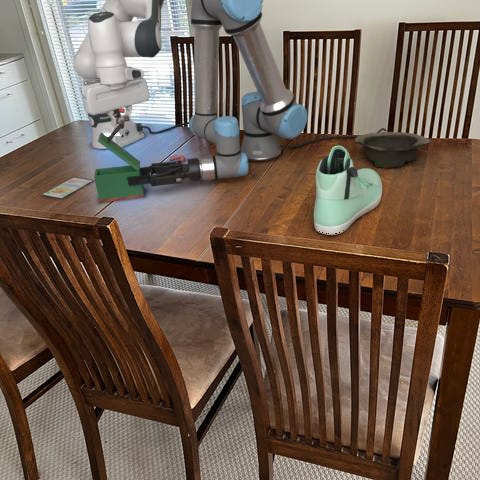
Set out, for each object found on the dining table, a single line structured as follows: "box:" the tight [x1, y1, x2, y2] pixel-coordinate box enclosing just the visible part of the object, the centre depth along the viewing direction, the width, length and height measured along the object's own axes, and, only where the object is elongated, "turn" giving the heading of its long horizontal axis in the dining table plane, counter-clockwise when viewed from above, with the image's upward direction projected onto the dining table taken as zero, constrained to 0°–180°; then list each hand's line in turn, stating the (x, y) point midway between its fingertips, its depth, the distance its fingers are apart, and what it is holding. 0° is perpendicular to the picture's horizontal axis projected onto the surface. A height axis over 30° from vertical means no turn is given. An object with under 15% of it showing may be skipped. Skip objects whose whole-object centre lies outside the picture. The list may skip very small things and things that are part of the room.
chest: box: [93, 165, 145, 203], centre depth 154 cm, size 14×6×9 cm, turn 98°
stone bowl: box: [354, 131, 431, 169], centre depth 165 cm, size 25×25×9 cm
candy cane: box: [169, 154, 186, 163], centre depth 176 cm, size 6×15×2 cm, turn 145°
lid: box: [98, 120, 141, 171], centre depth 148 cm, size 15×6×9 cm
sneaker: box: [313, 145, 383, 236], centre depth 133 cm, size 14×35×20 cm, turn 152°
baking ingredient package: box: [42, 177, 92, 199], centre depth 165 cm, size 9×1×15 cm
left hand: (121, 122), depth 144 cm, fingers closed on lid, 3 cm apart
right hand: (128, 177), depth 154 cm, fingers closed on chest, 6 cm apart
